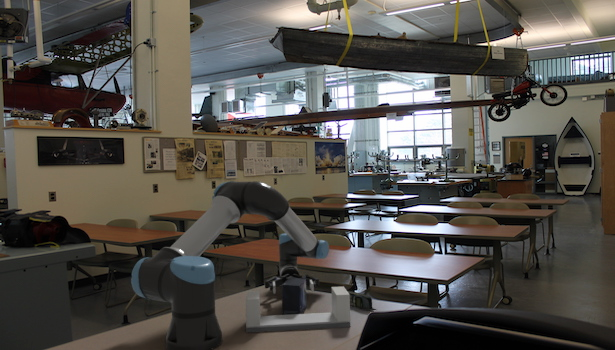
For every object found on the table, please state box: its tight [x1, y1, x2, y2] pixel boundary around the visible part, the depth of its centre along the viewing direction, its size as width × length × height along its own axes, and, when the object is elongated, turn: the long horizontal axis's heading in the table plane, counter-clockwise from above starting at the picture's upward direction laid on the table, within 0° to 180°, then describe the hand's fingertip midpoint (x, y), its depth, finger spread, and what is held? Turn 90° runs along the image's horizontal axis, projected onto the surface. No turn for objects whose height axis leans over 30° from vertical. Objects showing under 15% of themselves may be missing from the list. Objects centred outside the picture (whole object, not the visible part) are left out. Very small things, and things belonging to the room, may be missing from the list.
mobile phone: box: [347, 290, 377, 311], centre depth 155 cm, size 5×3×15 cm
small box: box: [281, 278, 307, 315], centre depth 150 cm, size 11×6×10 cm, turn 168°
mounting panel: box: [245, 311, 351, 333], centre depth 138 cm, size 31×10×2 cm, turn 96°
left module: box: [245, 289, 261, 327], centre depth 137 cm, size 4×10×8 cm, turn 6°
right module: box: [331, 285, 351, 322], centre depth 139 cm, size 4×10×8 cm, turn 6°
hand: (293, 288), depth 158 cm, fingers open, 13 cm apart
